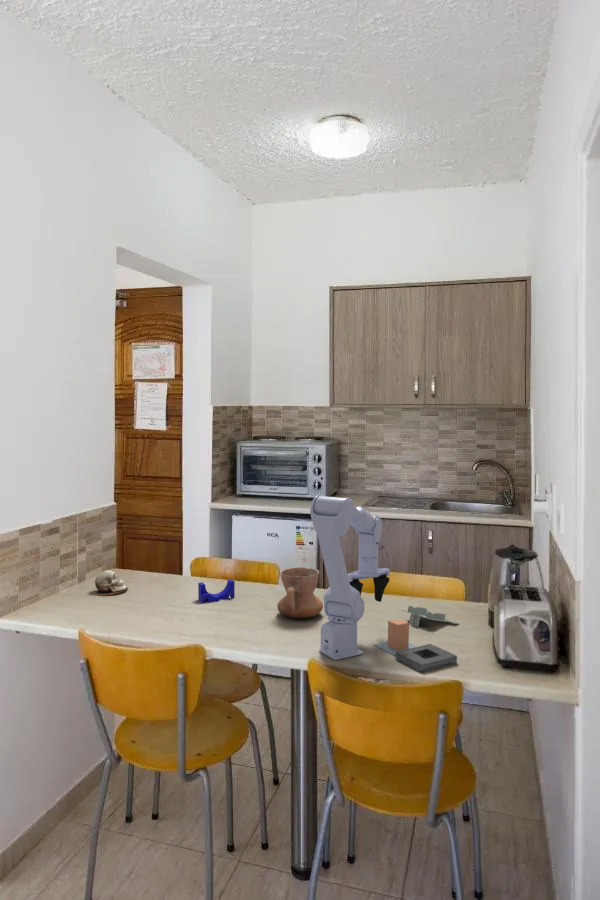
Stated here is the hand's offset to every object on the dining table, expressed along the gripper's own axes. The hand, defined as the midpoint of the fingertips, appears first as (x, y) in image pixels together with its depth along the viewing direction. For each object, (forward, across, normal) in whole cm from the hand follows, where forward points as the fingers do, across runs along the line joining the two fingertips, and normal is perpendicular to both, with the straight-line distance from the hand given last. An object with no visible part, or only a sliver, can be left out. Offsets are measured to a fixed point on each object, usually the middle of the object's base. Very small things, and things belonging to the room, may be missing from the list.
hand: (367, 602), depth 190 cm
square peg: (+9, +1, -13) cm, 16 cm away
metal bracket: (+10, +23, 0) cm, 25 cm away
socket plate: (+9, +1, -24) cm, 26 cm away
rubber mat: (+9, +1, -12) cm, 16 cm away
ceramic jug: (+10, -8, +25) cm, 28 cm away
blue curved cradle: (+10, -23, +54) cm, 60 cm away
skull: (+10, -52, +82) cm, 98 cm away
